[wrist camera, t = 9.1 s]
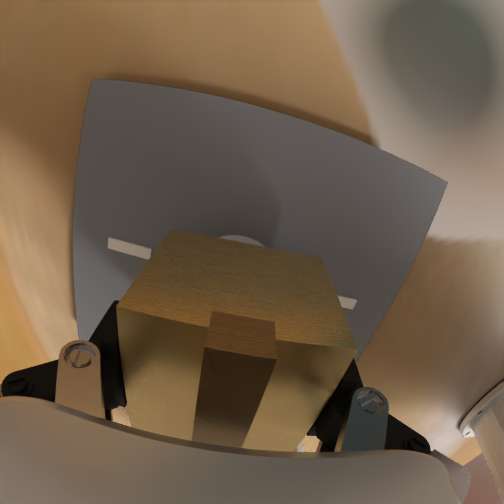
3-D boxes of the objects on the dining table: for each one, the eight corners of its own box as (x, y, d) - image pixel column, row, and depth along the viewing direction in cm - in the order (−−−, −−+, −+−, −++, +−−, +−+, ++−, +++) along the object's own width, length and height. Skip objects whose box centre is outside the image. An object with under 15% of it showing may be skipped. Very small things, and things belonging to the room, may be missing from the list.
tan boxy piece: (172, 216, 11) (93, 319, 5) (325, 246, 12) (380, 368, 6) (163, 349, 14) (126, 461, 8) (280, 370, 14) (287, 486, 9)
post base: (436, 177, 14) (496, 206, 9) (328, 384, 20) (340, 442, 16) (103, 80, 12) (41, 72, 7) (85, 328, 18) (53, 380, 14)
